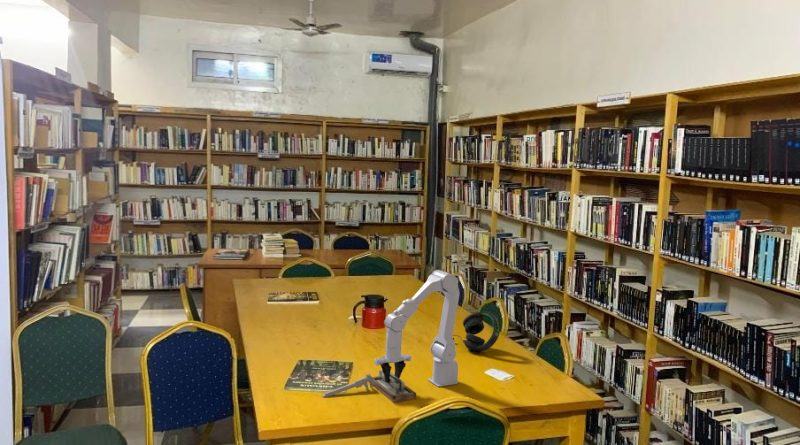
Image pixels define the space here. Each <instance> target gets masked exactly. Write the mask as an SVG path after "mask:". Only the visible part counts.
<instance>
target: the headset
mask: <svg viewBox="0 0 800 445" xmlns="http://www.w3.org/2000/svg"><path fill="white" fill-rule="evenodd" d="M485 317H489V318H491V320H492V329H493V330H492V333H491V335H490V337H489V338H488V340H487V341H486V340H485V339H484V338H482V337H481V336H478V334H480V333H481V332H482V331H483V330H484V329H485V324H484V322H483V318H485ZM462 326H463V328H464V331H465V333H466V335H465V340H464V339H462V337H461V336H460V335H454V334H453V336H452V338H453V340H454V341H455V336H456V337H458V338H460V340H461V341H462V343H463V344H464V345H465V346H466V347H465V348H467V349H468V350H471V351H472V352H478V351H481V352H485V351H487V350H489V349H490V348H492V347H493V346H494V345H495V344H496V342H497V341H498V339H499V336H500V332H501V323H500V320H499V318H498V317H497V316H496V315H495V314H493V313H491V312H490V311H487V310H484V311H483V310H482V311H478V312H475V313H471V314H468V315H467V316H466V317H465V318H463V322H462Z"/></svg>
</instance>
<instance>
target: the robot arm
mask: <svg viewBox="0 0 800 445" xmlns="http://www.w3.org/2000/svg"><path fill="white" fill-rule="evenodd" d="M458 284H459V279H458V278H457V277H456V276H455V275H454V274H452V273H448V272H446V271H442V270H441V269H436V270H434V271H432V273H431V274H429V275H428V278H427V280H426V281H425V282H424V284H423V285H422V286H421V287H420V288H419V290H418V291H417V292H416V293H415V294H414V295H413V296H412V297H411V298H406V299H405V300H403V301H402V303H401V304H400V305H399V307H397V309H394V311H393V312H391V313H389V314H387V315H386V316H385V320H383V324H384V326H385V327H386V338H385V339H386V341H385V356H382V357H377V358H374V363H373V364H374V365H375V366H380V367H381V370H383V373H384V377H385V382H387V383H389V381H390V372H391V371H392V366H391V365H390V364H393V363H394V375H395V376H397V377H398V378H399V379H401V375H402V372H403V370H404V369H405V367H406V365H407V364H406V362H411V361H412V356H411V355H410V354H402V339H403V338H402V337H403V330H404V329H405V328H406V324H407V323H408V321H409V319H410V318H412V316H413V315H415V313H416V312H417V311H418V309H419V308H418V307H419V305H420V304H421V303H423V301H424V300H426V299H427V298H428V297H429V296H430V295H431V294H432V293H434V292H441V293H442V294H443V295H444V300H443V306H442V311H441V315H440V316H441V318H440V323H439V328H438V334H437V335H436V336H435V337H434V338H433V342H432V344H431V345H430V352H431V354H432V358H433V362H432V365H433V366H432V377H431V378H428V381H429V382H430V383H432V384H433V385H435V386H437V387H438V388H440V387H446V386H451V385H452V386H453V385H458V384H459V381H458V378H459V365H458V362H457V360H456V357H457V356H456V355H457V351H456V350H457V349H456V342H455V339H454V340H453V338H454V336H453V335H454V329H455V325H456V324H455V323H456V319H457V316H456V315H457V312H458V311H457V310H458V305H459V299H460V289H459V285H458Z"/></svg>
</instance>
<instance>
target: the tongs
mask: <svg viewBox="0 0 800 445" xmlns="http://www.w3.org/2000/svg"><path fill="white" fill-rule="evenodd" d="M378 376H379V381H380V382H381V383H382V384H383V385H385V386H386V387H387V388H389V389H390V390H391V391H392V392H394V393H395V394H399V392H400V393H404V385H406V384H405V381H404V380H402V379H401V378H400V379H399V378H398V377H397V376H395V373H392V372H391V371H390V381H389V383H387V382H385V377H384V373H383V370H382V369H380V370H378Z"/></svg>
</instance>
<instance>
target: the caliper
mask: <svg viewBox="0 0 800 445" xmlns="http://www.w3.org/2000/svg"><path fill="white" fill-rule="evenodd" d="M365 376H366V377H362V378H359V379H356V380H354V382H351V383H348V384H346V385H343V386H340V387H337V388H335V389H332V390H329V391H327V392H324V394H323V395H321V398H326V397H327V398H328V397H332V396H335V395H337V394H340V393H343V392H346V391H348V390H350V389H353V388H356V389H358V388H361V387H363V386H364V387H365V389H366V390H367V391H368V390H369V386H370V390H372V389H373V387H374V386H373V378H372V377H373V376H372V375H371V373H370V372H369V373H368V374H367V373H366V374H365Z"/></svg>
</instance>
